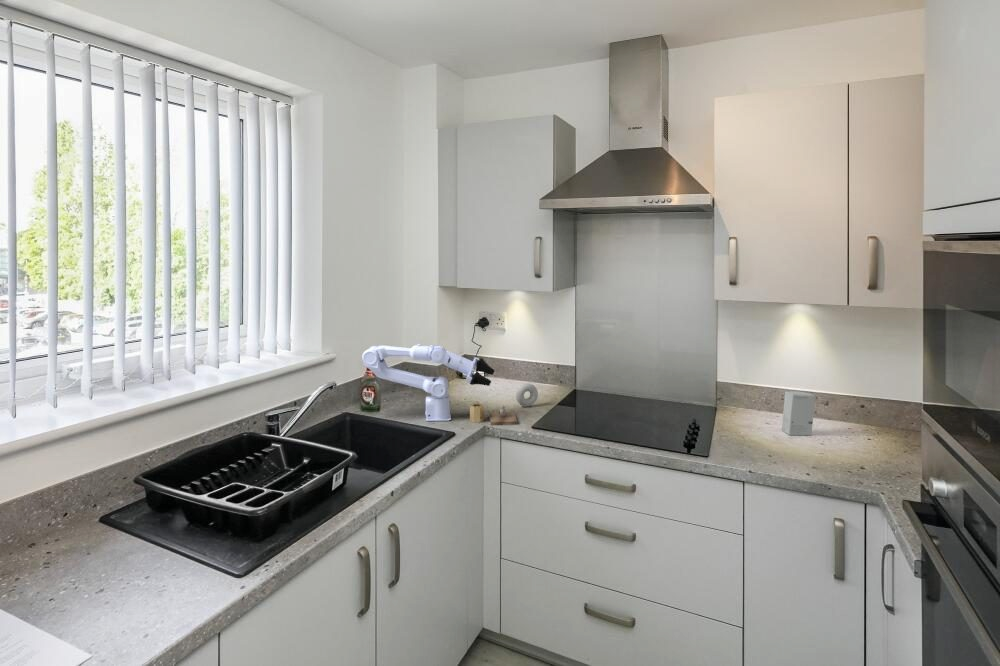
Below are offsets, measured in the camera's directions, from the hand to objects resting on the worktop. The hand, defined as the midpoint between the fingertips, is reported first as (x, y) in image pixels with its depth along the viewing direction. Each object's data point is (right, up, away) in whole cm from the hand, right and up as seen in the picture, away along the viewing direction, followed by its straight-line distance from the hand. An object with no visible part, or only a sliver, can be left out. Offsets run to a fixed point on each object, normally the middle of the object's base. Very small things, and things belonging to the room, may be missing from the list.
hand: (492, 378), depth 216 cm
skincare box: (+110, -19, -15) cm, 112 cm away
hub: (-6, -16, 0) cm, 17 cm away
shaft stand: (+4, -16, 0) cm, 17 cm away
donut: (+14, -14, +19) cm, 28 cm away
